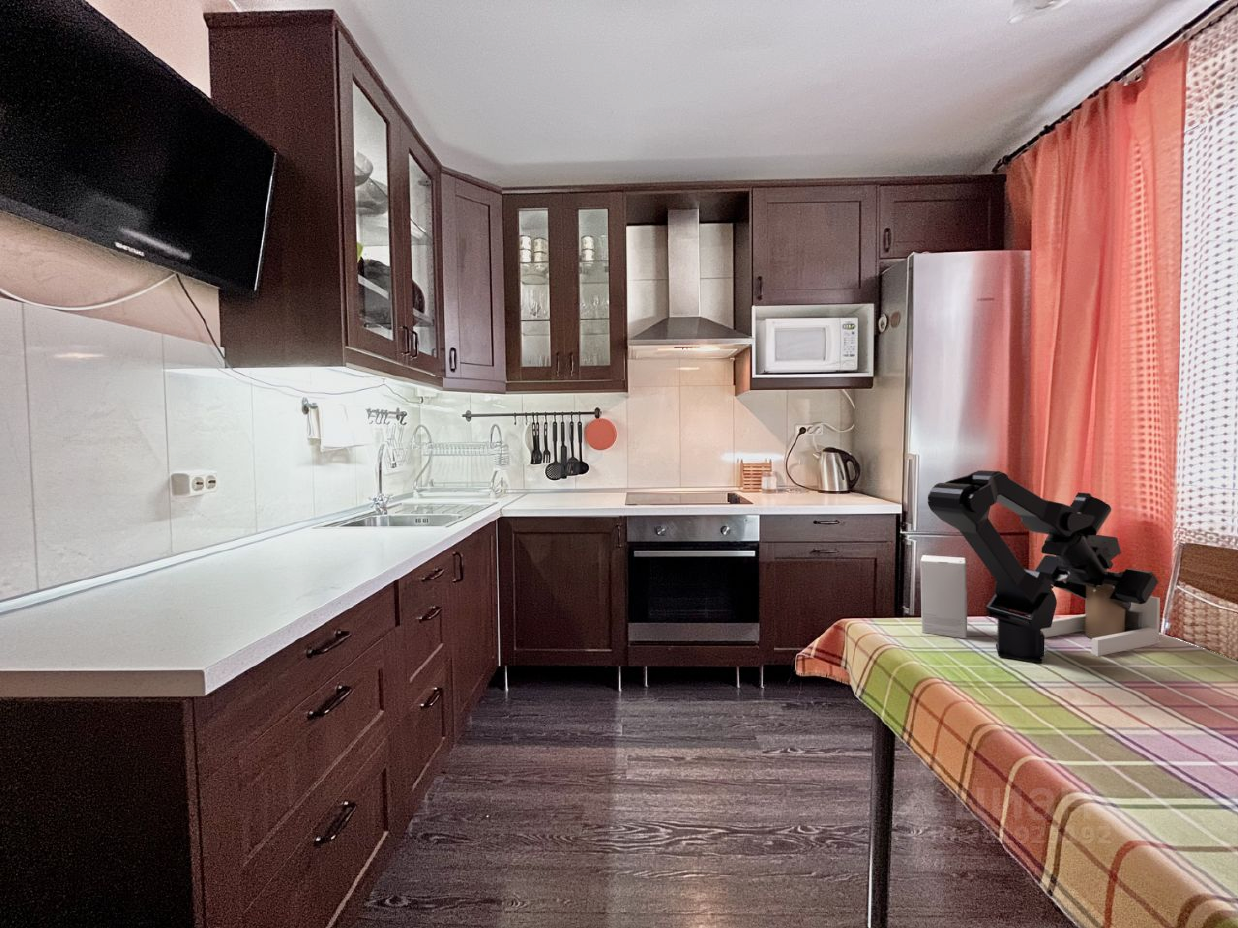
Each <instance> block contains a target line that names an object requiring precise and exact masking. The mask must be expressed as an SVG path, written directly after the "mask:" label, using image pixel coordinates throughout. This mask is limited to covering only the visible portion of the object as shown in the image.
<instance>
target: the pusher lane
mask: <svg viewBox="0 0 1238 928" xmlns="http://www.w3.org/2000/svg"><path fill="white" fill-rule="evenodd" d="M1160 607H1161V598H1160V597H1157V596H1152V595H1150V597H1149V599H1148V600H1147V602H1146V603H1144V604H1137V603H1132V602H1131V607H1130V609H1129V610H1133V611H1138V612H1142V629H1139V630H1133V631H1128V632H1123V633H1118V634H1112V635H1107V636H1102V637H1096V638H1091V652H1090V653H1091V655H1092V656H1096V657H1100V656H1105V655H1110V654H1116V653H1119V652H1120V653H1121V652H1123V651H1124V652H1125V651H1129V650H1130V651H1131V650H1134V649H1139V648H1143V647H1149V646H1154V645H1158V644H1160V615H1161V613H1160V610H1161V608H1160ZM1041 631H1042V632H1043V634H1044V636H1045V639H1046V638H1051V637H1057V636H1063V635H1066V634H1068V635H1069V634H1073V633H1078V632H1079V633H1080V632H1083V631H1084V632H1085V613H1084V614H1082V613H1081V614H1078V615H1072V616H1066V617H1065V616H1064V617H1059V618H1053V621H1052V625H1051V627H1050V628H1045V629H1041Z"/></svg>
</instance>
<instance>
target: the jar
mask: <svg viewBox="0 0 1238 928" xmlns="http://www.w3.org/2000/svg"><path fill="white" fill-rule="evenodd" d="M1107 571H1108V572H1113V573H1119V572H1118V571H1113V570H1112V571H1111V570H1107ZM1114 589H1115V588H1113V586H1112V585H1110V584H1105V583H1103V584H1102V586H1096V587H1091V586H1086V600H1085V608H1084V609H1085V613H1084V614H1085V630H1084V635H1085V637H1088V638H1090V639H1092V638H1096V637H1102V636H1107V635H1112V634H1118V633H1123V632H1125V609H1124V608H1122V607H1121V606H1119V605H1118V604H1117V603H1115V602H1114V601H1112V600H1111V599H1110V596H1111V595H1112V593H1113V592H1114Z"/></svg>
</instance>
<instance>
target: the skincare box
mask: <svg viewBox="0 0 1238 928" xmlns="http://www.w3.org/2000/svg"><path fill="white" fill-rule="evenodd" d="M919 562H920V563H919V565H920V605H921V606H920V609H921V610H920V612H921V617H920V618H921V633H923V634H931V635H939V636H945V637H954V638H961V639H967V636H968V596H967V595H968V593H967V592H968V591H967V561H966V557H958V556H946V555H945V556H942V555H929V554H922V555H921V558H920V561H919Z"/></svg>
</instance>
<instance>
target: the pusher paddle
mask: <svg viewBox="0 0 1238 928" xmlns="http://www.w3.org/2000/svg"><path fill="white" fill-rule="evenodd" d="M1139 629H1142V612H1138V611H1133V610H1125V632H1128V631H1133V630H1139Z"/></svg>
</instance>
